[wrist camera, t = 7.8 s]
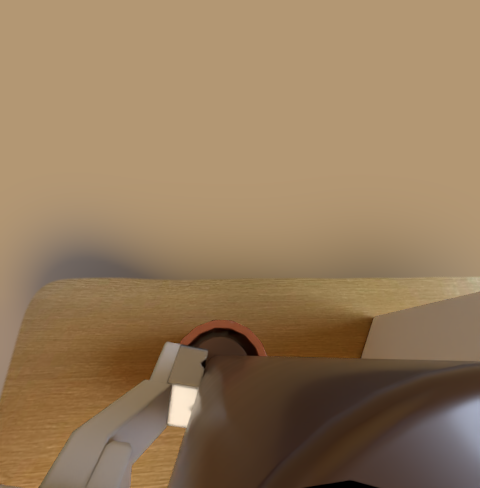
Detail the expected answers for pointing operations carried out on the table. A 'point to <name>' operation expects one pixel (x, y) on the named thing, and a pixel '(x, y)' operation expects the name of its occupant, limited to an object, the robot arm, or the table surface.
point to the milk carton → (428, 332)
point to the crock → (229, 331)
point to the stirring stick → (330, 423)
